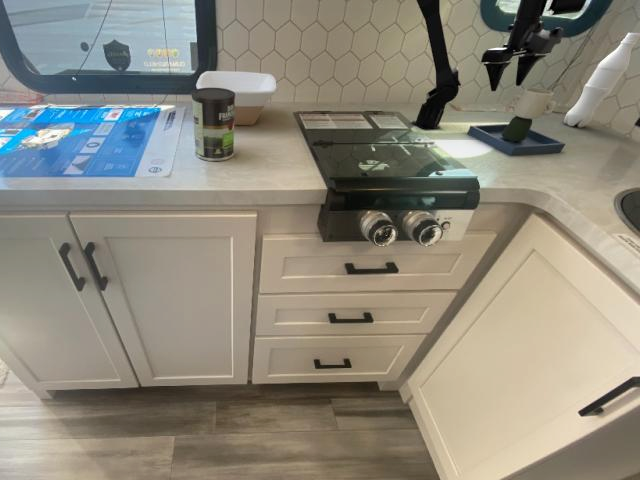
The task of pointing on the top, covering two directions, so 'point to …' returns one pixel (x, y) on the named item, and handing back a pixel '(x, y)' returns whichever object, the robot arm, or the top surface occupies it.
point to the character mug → (527, 111)
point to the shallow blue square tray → (530, 145)
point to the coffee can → (213, 123)
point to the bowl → (242, 91)
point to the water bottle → (601, 82)
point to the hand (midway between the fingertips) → (505, 88)
